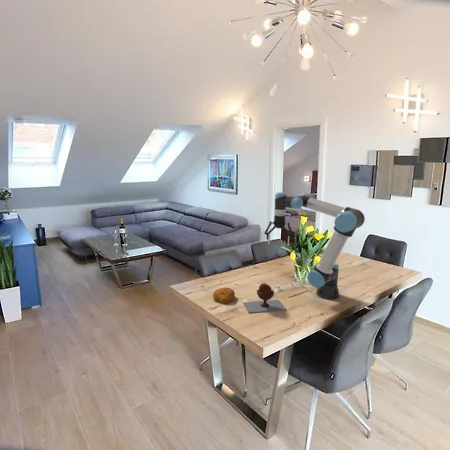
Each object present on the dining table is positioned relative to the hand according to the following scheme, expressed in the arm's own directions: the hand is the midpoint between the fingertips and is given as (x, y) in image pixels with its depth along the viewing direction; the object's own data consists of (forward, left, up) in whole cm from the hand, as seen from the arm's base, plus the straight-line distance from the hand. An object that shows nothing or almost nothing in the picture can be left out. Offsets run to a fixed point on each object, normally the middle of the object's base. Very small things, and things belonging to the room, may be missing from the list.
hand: (278, 244), depth 236 cm
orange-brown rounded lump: (+33, +28, -32) cm, 54 cm away
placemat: (+5, +34, -32) cm, 47 cm away
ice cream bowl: (+5, +34, -31) cm, 46 cm away
